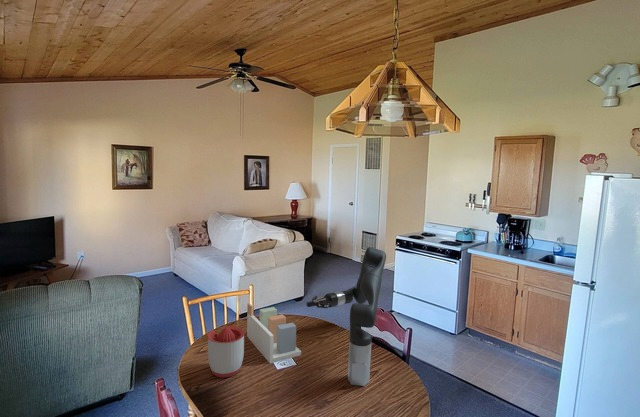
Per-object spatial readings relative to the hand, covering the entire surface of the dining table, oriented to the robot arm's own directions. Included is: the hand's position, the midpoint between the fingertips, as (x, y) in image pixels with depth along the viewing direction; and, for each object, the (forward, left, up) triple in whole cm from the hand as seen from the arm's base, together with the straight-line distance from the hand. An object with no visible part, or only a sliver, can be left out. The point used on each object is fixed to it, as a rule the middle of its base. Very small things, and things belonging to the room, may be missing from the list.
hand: (307, 304), depth 195 cm
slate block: (-20, +6, -16) cm, 26 cm away
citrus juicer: (-38, +29, -18) cm, 51 cm away
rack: (-12, +15, -18) cm, 26 cm away
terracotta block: (-11, +13, -16) cm, 23 cm away
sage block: (-3, +20, -16) cm, 26 cm away
